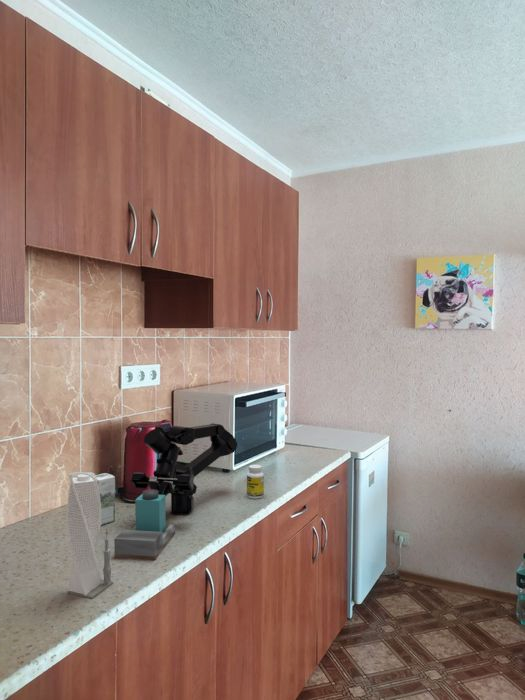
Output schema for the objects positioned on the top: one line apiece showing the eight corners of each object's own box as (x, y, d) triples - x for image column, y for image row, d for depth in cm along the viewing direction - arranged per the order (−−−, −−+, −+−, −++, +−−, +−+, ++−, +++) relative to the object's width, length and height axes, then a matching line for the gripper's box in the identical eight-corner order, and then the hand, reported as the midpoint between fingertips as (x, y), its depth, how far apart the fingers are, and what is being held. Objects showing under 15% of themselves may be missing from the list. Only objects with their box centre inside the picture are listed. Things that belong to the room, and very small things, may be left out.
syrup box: (105, 516, 157) (104, 472, 156) (115, 521, 153) (115, 475, 153) (88, 522, 152) (88, 476, 152) (99, 526, 149) (99, 479, 148)
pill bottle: (243, 497, 175) (243, 467, 175) (251, 492, 181) (251, 463, 180) (258, 500, 172) (258, 469, 172) (266, 495, 178) (266, 465, 178)
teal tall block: (142, 531, 142) (142, 488, 142) (165, 532, 141) (165, 489, 141) (135, 538, 137) (135, 494, 137) (159, 539, 136) (159, 495, 136)
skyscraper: (87, 602, 107) (86, 475, 106) (59, 594, 110) (57, 471, 109) (112, 583, 115) (111, 465, 114) (85, 577, 118) (84, 462, 117)
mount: (139, 531, 145) (139, 515, 145) (175, 533, 143) (175, 516, 143) (114, 557, 128) (114, 538, 128) (154, 560, 127) (154, 541, 126)
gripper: (200, 475, 159) (191, 521, 149) (146, 472, 162) (133, 518, 151) (194, 457, 151) (183, 504, 141) (136, 455, 154) (122, 501, 143)
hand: (155, 507), depth 144 cm, fingers closed
